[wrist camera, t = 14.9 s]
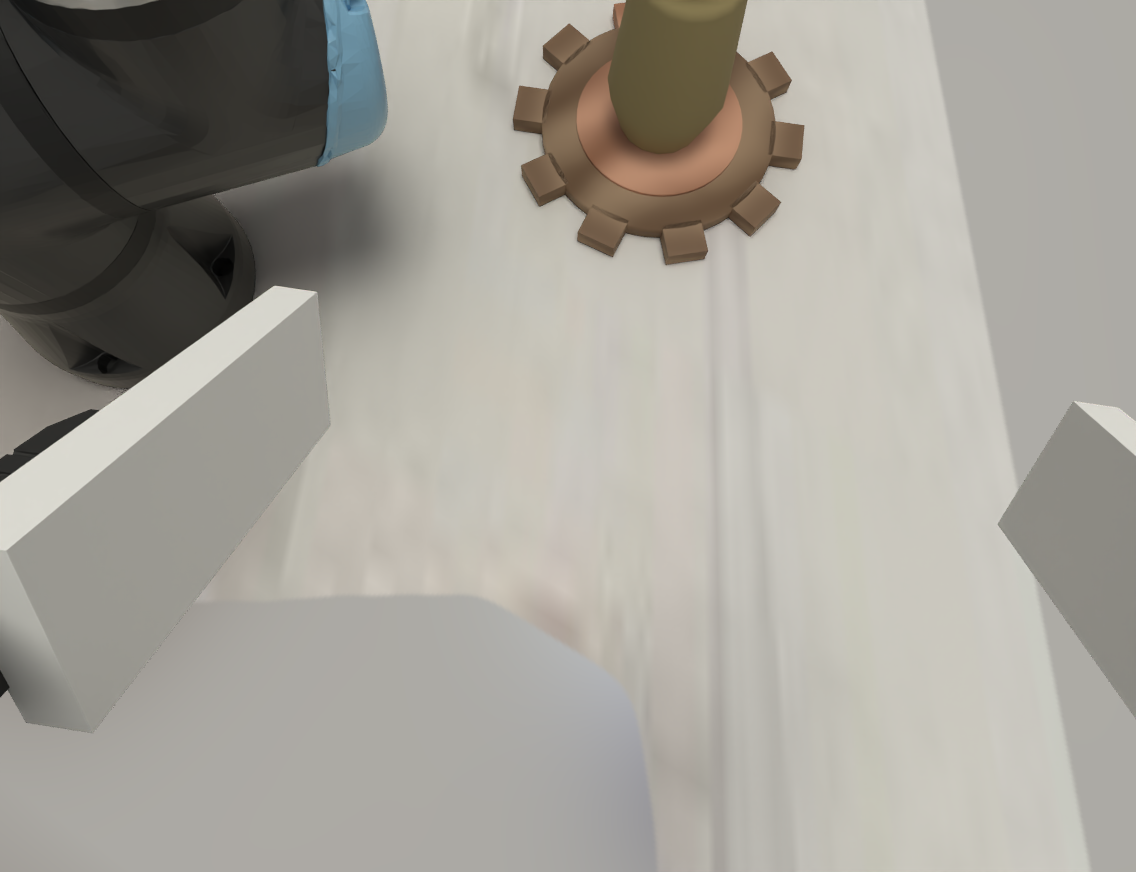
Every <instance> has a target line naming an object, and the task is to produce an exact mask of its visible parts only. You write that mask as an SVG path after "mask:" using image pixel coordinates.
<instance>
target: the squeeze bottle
mask: <svg viewBox="0 0 1136 872" xmlns="http://www.w3.org/2000/svg"><path fill="white" fill-rule="evenodd" d="M746 5H747V0H626V3H625V7H624V12H623V16H622V20H621V24H620V28H619V32H618V37H617V41H616V45H615V49H614V53H613V57H612V61H611V66H610V70H609V74H608V85H609V91H610V98H611V101H612V104H613V107H614V110H615V112H616V115H617V118H618V121H619V124H620V127H621V129H622V131H623V132H624V134H625V135H626V137H627V138H628V140H629V141H630V142H631V143H633V144H634V145H636V146H637V147H638V148H640V149H641V150H644V151H648V152H651V153H655V154H665V153H674V152H676V151H678V150H680V149H682V148H684V147H686V146H688V145H689V144H690V143H691V142H692V141H693V140H694V139H695V138H696V137H697V136H698V135H699V134H700V133H701V132H702V131H703V130H704V129H705V128H706V127H707V126H708V125H709V124H710V123H711V121H712V120H713V119H714V118H715V117H716V115H717V114H718V113H719V112H720V111H721V110H722V108H723V106H724V102H725V99H726V95H727V91H728V87H729V83H730V78H731V73H732V69H733V64H734V60H735V55H736V50H737V46H738V41H739V37H740V32H741V27H742V23H743V18H744V14H745V9H746Z"/></svg>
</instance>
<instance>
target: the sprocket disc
mask: <svg viewBox="0 0 1136 872" xmlns="http://www.w3.org/2000/svg"><path fill="white" fill-rule="evenodd" d="M624 7H625V3H619V4H614V10H613V21H614V25H615V29H613V30H610V31H608V32H606V33H603V34H601V35H599V36H597V37H595V38H593V39H592V40H590V41H589V40H588V39H587V38H586V37H585V36H584V35H582V34H581V33H580V32H579V31H578V30H576V29H575V28H574V27H573V26H572V25H571V24H568V25H567V26H566V27H564V28H563V29H562V30H561V31H560V32H559V33H557V34H556V35H555V36H554V37H553V38H552V39H550V40H549V41H548V42H547V43H546V44H545V45H543V59H545V60H546V61H547V62H548V63H549V64H550V65H552V66H553V67H554V68H555V69H556V70H557V73H556V74H555V76H554V78H553V80H552V81H551V83H550V86H549V89H548V90H547V89H539V88H532V87H525V86H519V90H518V95H517V100H516V106H515V111H514V116H513V124H514V130H519V131H526V132H533V133H540V134H542V136H543V147H544V151H545V155H543V156H541V157H539V158H536V159H534V160H532V161H530V162H527V163H525V164H523V165H521V169H522V176H523V178H524V180H525V182H526V183H527V185H528V187H529V189H530V190H531V192H532V194H533V196H534V198H535V199H536V201H537V203H538V205H539V206H541V205H544V204H546V203H548V202H550V201H552V200H554V199H556V198H559V197H561V196H563V195H565V194H566V196H567V197H568V198H569V199H570V200H571V201H572V202H573V203H574V204H575V205H576V206H577V207H578V208H580V209H581V210H582V211H584V212H585V213H586V214H587V216H586V218H585V220H584V222H583V223H582V225H581V227H580V229H579V231H578V237H577V241H579V242H582V243H584V244H586V245H588V246H590V247H592V248H594V249H597V250H599V251H601V252H603V253H605V254H607V255H610V256H612V257H613V255H614V253H615V251H616V249H617V248H618V246H619V244H620V242H621V240H622V238H623V236H624V234H625V233H629V234H633V235H639V236H644V237H658V238H660V240H661V245H662V249H663V254H664V258H665V263H666V265H667V264H673V263H680V262H687V261H693V260H700V259H704V258H705V256H706V254H707V252H708V248H707V244H706V240H705V235H704V231H703V230H705V229H708V228H710V227H712V226H714V225H716V224H718V223H720V222H722V221H723V220H725V219H726V218H729V219H731V220H732V221H733V222H734V223H735V224H736V225H738V226H739V227H740V228H741V229H742V230H743V231H745V232H746V233H747V234H748V235H749V236H751V235H752V234H753V233H754V232H755V231H756V230H757V229H758V228H759V227H760V226H761V225H762V224H763V223H764V222H765V221H766V220H767V219H768V218H769V217H770V216H771V215H772V214H774V213H775V212H776V210H777V208H778V207H779V205H780V203H781V202H780V201H779V200H778V199H777V198H776V197H774V196H773V195H772V194H771V193H770V192H768V191H767V190H766V189H765V188H764V187H762V186H761V185H760V184H759V183H760V182H761V180H762V178H763V176H764V174H765V172H766V169H767V167H768V166H775V167H782V168H790V169H796V168H797V166H798V164H799V163H800V161H801V159H802V147H803V135H804V125H798V124H791V123H784V122H777V121H775V116H774V110H773V106H772V103H771V100H770V99H773V98H775V97H777V96H779V95H781V94H783V93H786V92H787V90H788V88H789V85H790V83H791V81H792V80H791V78H790V77H789V75H788V74H787V73H786V71H785V70H784V68H783V67H782V65H781V64H780V62H779V61H778V59H777V58H776V56H775V55H774V53H773V52H770V53H768V54H766V55H763V56H761V57H759V58H757V59H755V60H752V61H750V62H747V61H746V60H745V59H744V58H743V57H742V56H741V55H740V54H739V53H737V52H736V55H735V60H734V64H733V69H732V73H731V78H730V83H729V87H728V91H727V95H726V99H725V102H724V106H723V108H722V110H721V111H720V112H719V113H718V114H717V115H716V117H715V118H714V119H713V120H712V121H711V123H710V124H709V125H708V126H707V127H706V128H705V129H704V130H703V131H702V132H701V133H700V134H699V135H698V136H697V137H696V138H695V139H694V140H693V141H692V142H691V143H690V144H689V145H688V146H686V147H684V148H682V149H680V150H678V151H676V152H674V153H665V154H655V153H651V152H648V151H644V150H641V149H640V148H638V147H637V146H636V145H634V144H633V143H631V142H630V141H629V140H628V138H627V137H626V135H625V134H624V132H623V131H622V129H621V127H620V124H619V121H618V118H617V115H616V112H615V110H614V107H613V104H612V101H611V98H610V91H609V85H608V74H609V70H610V66H611V61H612V57H613V53H614V49H615V45H616V41H617V37H618V32H619V28H620V24H621V20H622V16H623V12H624Z"/></svg>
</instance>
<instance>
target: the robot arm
mask: <svg viewBox="0 0 1136 872" xmlns="http://www.w3.org/2000/svg"><path fill="white" fill-rule="evenodd" d="M387 114H388V104H387V94H386V87H385V81H384V75H383V69H382V64H381V59H380V54H379V49H378V45H377V40H376V35H375V31H374V27H373V23H372V19H371V15H370V11H369V8H368V5H367V2H366V0H0V314H1V315H2V316H3V317H4V318H5V319H6V320H7V321H8V322H9V323H10V324H11V325H12V326H13V327H14V328H15V329H16V331H17V332H18V333H19V334H20V335H21V336H22V337H23V338H24V339H25V340H26V341H27V342H28V343H29V344H30V345H31V346H32V347H33V348H34V349H35V350H36V351H37V352H38V353H39V354H40V355H41V356H43V357H44V358H45V359H47V360H48V361H50V362H51V363H53V364H54V365H56V366H58V367H59V368H61V369H63V370H65V371H68V372H70V373H72V374H75V375H77V376H80V377H82V378H84V379H87V380H89V381H92V382H94V383H98V384H101V385H105V386H110V387H117V388H131V389H129V390H128V391H127V392H125V393H124V394H122V395H121V396H120V397H118V398H117V399H115V400H114V401H113V402H111V403H110V404H108V405H107V406H106V407H104V408H103V409H102V410H100V411H99V410H92V409H90V410H88V411H85V412H83V413H80V414H78V415H75V416H73V417H70V418H68V419H65V420H63V421H60V422H58V423H55V424H53V425H50V426H48V427H46V428H45V429H43V430H42V431H40V432H39V433H37V434H36V435H35V436H33V437H32V438H30V439H29V440H27V441H26V442H24V443H23V444H21V445H20V446H18V447H17V448H15V449H14V453H13V455H8V454H7V455H5V456H4V457H2V458H1V459H0V697H1V696H2V695H3V694H4V693H5V692H6V691H7V690H8V691H9V693H10V695H11V697H12V698H13V700H14V702H15V704H16V706H17V707H18V709H19V711H20V713H21V714H22V716H23V718H24V720H25V722H26V723H32V724H38V725H45V726H50V727H57V728H64V729H70V730H76V731H82V732H88V733H93V732H94V731H95V730H96V728H97V727H98V726H99V725H100V723H101V722H102V721H103V719H104V718H105V717H106V715H107V714H108V713H109V712H110V710H111V709H112V707H113V706H114V705H115V704H116V702H117V701H118V700H119V699H120V697H121V696H122V695H123V693H124V692H125V691H126V690H127V688H128V687H129V686H130V684H131V683H132V682H133V681H134V679H135V678H136V677H137V675H138V674H139V673H140V671H141V670H142V669H143V668H144V666H145V665H146V663H147V662H148V661H149V660H150V658H151V657H152V656H153V655H154V653H155V652H156V651H157V649H158V648H159V647H160V646H161V644H162V643H163V641H164V640H165V639H166V638H167V636H168V635H169V634H170V633H171V631H172V630H173V629H174V627H175V626H176V625H177V624H178V622H179V621H180V620H181V618H182V617H183V616H184V614H185V613H186V612H187V611H188V609H189V608H190V607H191V605H192V604H193V603H194V601H195V600H196V599H197V598H198V596H199V595H200V594H201V592H202V591H203V590H204V589H205V587H206V586H207V585H208V583H209V582H210V581H211V579H212V578H213V577H214V576H215V574H216V573H217V572H218V570H219V569H220V568H221V566H222V565H223V564H224V563H225V561H226V560H227V559H228V557H229V556H230V555H231V554H232V552H233V551H234V550H235V548H236V547H237V546H238V544H239V543H240V542H241V541H242V539H243V538H244V537H245V535H246V534H247V533H248V532H249V530H250V529H251V528H252V526H253V525H254V524H255V522H256V521H257V520H258V519H259V517H260V516H261V515H262V513H263V512H264V511H265V509H266V508H267V507H268V506H269V504H270V503H271V502H272V500H273V499H274V498H275V497H276V495H277V494H278V493H279V491H280V490H281V489H282V487H283V486H284V485H285V484H286V482H287V481H288V480H289V478H290V477H291V476H292V474H293V473H294V472H295V471H296V469H297V468H298V467H299V465H300V464H301V463H302V462H303V460H304V459H305V458H306V456H307V455H308V454H309V452H310V451H311V450H312V449H313V447H314V446H315V445H316V443H317V442H318V441H319V439H320V438H321V437H322V436H323V434H324V433H325V432H326V430H327V429H328V428H329V427H330V414H329V404H328V394H327V384H326V374H325V364H324V354H323V343H322V333H321V323H320V313H319V303H318V293H317V292H315V291H308V290H301V289H294V288H288V287H281V286H273V287H272V288H270V289H269V290H267V291H266V292H265V293H263V294H262V295H260V296H259V297H258V298H256V299H255V300H254V301H252V297H253V292H254V286H255V263H254V257H253V253H252V249H251V246H250V243H249V241H248V239H247V236H246V235H245V233H244V231H243V229H242V228H241V226H240V225H239V223H238V222H237V221H236V219H235V218H234V217H233V216H232V215H231V214H230V213H229V212H228V211H227V210H226V208H225V207H224V206H223V205H222V204H221V203H220V202H219V201H218V200H217V199H216V198H215V197H214V196H213V195H212V194H216V193H219V192H223V191H226V190H230V189H234V188H237V187H241V186H245V185H248V184H252V183H256V182H259V181H263V180H267V179H270V178H274V177H277V176H281V175H285V174H288V173H292V172H296V171H299V170H303V169H307V168H310V167H315V166H318V167H319V166H323V165H325V164H326V163H328V162H329V161H330V159H332V158H335V157H337V156H340V155H343V154H345V153H348V152H351V151H353V150H356V149H359V148H361V147H364V146H367V145H369V144H371V143H372V142H374V141H375V140H376V139H377V138H378V137H379V136H380V135H381V133H382V132H383V130H384V128H385V125H386V121H387ZM251 301H252V302H251ZM998 525H999V527H1000V528H1001V530H1002V531H1003V533H1004V534H1005V535H1006V537H1007V538H1008V540H1009V541H1010V542H1011V544H1012V545H1013V547H1014V548H1015V549H1016V551H1017V552H1018V554H1019V555H1020V556H1021V558H1022V559H1023V561H1024V562H1025V564H1026V565H1027V566H1028V568H1029V569H1030V571H1031V572H1032V573H1033V575H1034V576H1035V578H1036V579H1037V580H1038V582H1039V583H1040V585H1041V586H1042V587H1043V589H1044V590H1045V592H1046V593H1047V594H1048V596H1049V597H1050V599H1051V600H1052V602H1053V603H1054V604H1055V605H1056V607H1057V608H1058V610H1059V611H1060V613H1061V614H1062V615H1063V617H1064V618H1065V620H1066V621H1067V623H1068V624H1069V625H1070V627H1071V628H1072V630H1073V631H1074V632H1075V634H1076V635H1077V637H1078V638H1079V640H1080V641H1081V642H1082V644H1083V645H1084V647H1085V648H1086V649H1087V651H1088V652H1089V654H1090V655H1091V657H1092V658H1093V659H1094V661H1095V662H1096V664H1097V665H1098V666H1099V668H1100V669H1101V671H1102V672H1103V673H1104V675H1105V676H1106V678H1107V679H1108V680H1109V682H1110V683H1111V685H1112V686H1113V688H1114V689H1115V690H1116V692H1117V693H1118V695H1119V696H1120V697H1121V699H1122V700H1123V701H1124V703H1125V704H1126V706H1127V707H1128V708H1129V710H1130V711H1131V713H1132V714H1133V716H1134V717H1135V719H1136V422H1135V421H1134V420H1133V419H1132V418H1130V417H1129V416H1128V415H1127V414H1126V413H1124V412H1123V411H1122V410H1121V409H1119V408H1117V407H1110V406H1103V405H1097V404H1089V403H1083V402H1076V401H1073V402H1072V404H1071V406H1070V407H1069V409H1068V411H1067V412H1066V414H1065V415H1064V417H1063V419H1062V420H1061V422H1060V423H1059V425H1058V427H1057V428H1056V430H1055V432H1054V434H1053V435H1052V436H1051V438H1050V440H1049V441H1048V443H1047V445H1046V446H1045V448H1044V450H1043V451H1042V453H1041V454H1040V456H1039V458H1038V459H1037V461H1036V463H1035V464H1034V466H1033V467H1032V469H1031V471H1030V472H1029V474H1028V475H1027V477H1026V479H1025V480H1024V482H1023V484H1022V485H1021V487H1020V488H1019V490H1018V492H1017V493H1016V495H1015V497H1014V498H1013V500H1012V501H1011V503H1010V505H1009V506H1008V508H1007V510H1006V511H1005V513H1004V515H1003V516H1002V518H1001V519H1000V521H999V523H998Z"/></svg>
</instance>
